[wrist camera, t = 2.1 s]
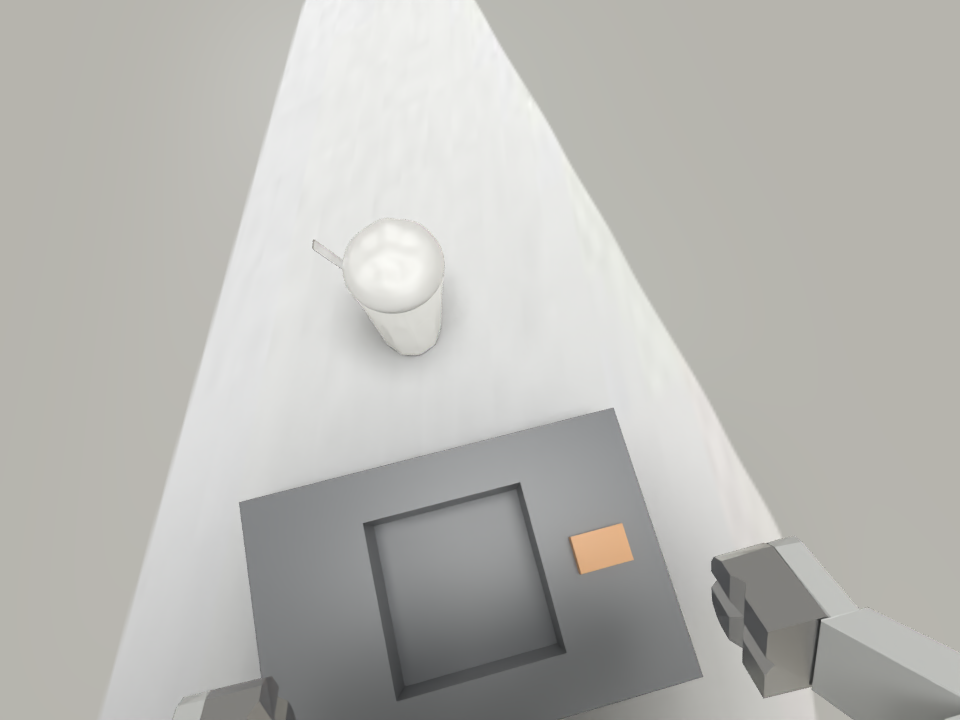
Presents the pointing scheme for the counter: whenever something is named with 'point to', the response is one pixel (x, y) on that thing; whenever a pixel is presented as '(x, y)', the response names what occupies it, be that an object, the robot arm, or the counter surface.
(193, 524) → the counter surface
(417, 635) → the dock
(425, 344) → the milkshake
